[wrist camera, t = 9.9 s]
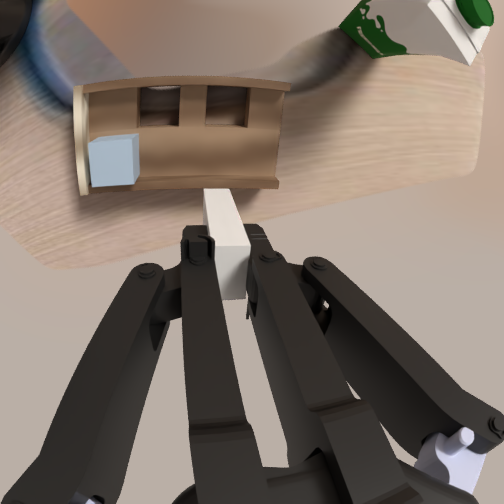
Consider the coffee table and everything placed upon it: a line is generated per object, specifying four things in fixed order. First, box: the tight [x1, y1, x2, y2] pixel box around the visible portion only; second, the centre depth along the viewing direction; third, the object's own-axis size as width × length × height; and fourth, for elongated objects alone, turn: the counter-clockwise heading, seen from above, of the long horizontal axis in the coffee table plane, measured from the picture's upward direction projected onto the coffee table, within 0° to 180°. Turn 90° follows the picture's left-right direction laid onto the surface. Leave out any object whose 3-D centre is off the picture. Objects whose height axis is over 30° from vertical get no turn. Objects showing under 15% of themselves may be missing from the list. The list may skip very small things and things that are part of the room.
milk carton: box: [338, 0, 494, 66], centre depth 19 cm, size 9×9×20 cm
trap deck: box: [74, 76, 291, 196], centre depth 30 cm, size 13×24×5 cm, turn 86°
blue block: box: [88, 134, 140, 187], centre depth 28 cm, size 5×5×4 cm
